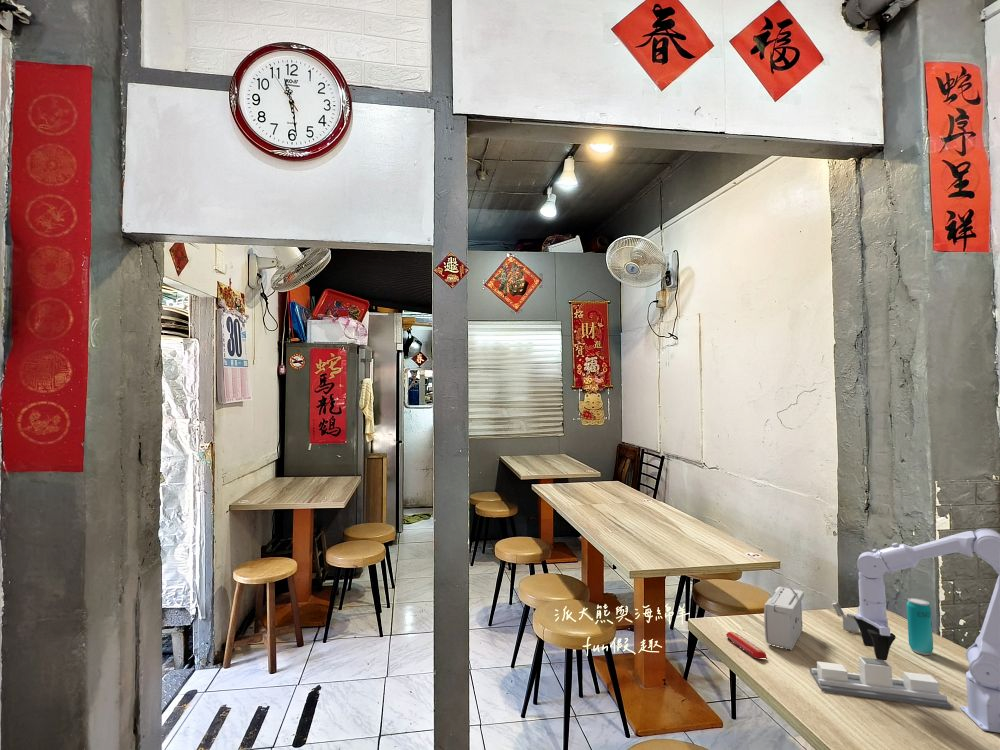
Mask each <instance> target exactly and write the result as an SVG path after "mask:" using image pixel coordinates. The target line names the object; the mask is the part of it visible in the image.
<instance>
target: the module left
mask: <svg viewBox="0 0 1000 750" xmlns="http://www.w3.org/2000/svg"><path fill="white" fill-rule="evenodd" d="M816 669H817V675H818V676H819V678H820V679H825V680H833V681H841V682H848V674H847V672H848V670H847V669H846V668H845V667H844V665H843V664H840V663H833V662H824V661H816Z"/></svg>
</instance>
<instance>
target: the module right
mask: <svg viewBox="0 0 1000 750" xmlns="http://www.w3.org/2000/svg"><path fill="white" fill-rule="evenodd" d="M902 676H903V677H902V679H903V682H904V686H905V688H906V689H907V690H911V691H918V692H926V693H934V694H939V693H940V687H939V686H940V685H939V682H938V681H937V680H936V679H935V678H934V677H933V676H932V675H930V674H925V673H918V672H909V671H902Z"/></svg>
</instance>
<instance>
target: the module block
mask: <svg viewBox="0 0 1000 750" xmlns="http://www.w3.org/2000/svg"><path fill="white" fill-rule="evenodd" d="M858 672H859V673H858V674H860V681H861V682H862V683H863V684H864V685H872V686H879V687H887V688H893V684H892V678H893V669H892V665H890V664H889V663H888V661H887V660H878V659H877V658H874V657H873V658H871V657H864V656H863V657H862V656H858Z"/></svg>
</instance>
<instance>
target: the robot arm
mask: <svg viewBox="0 0 1000 750" xmlns="http://www.w3.org/2000/svg"><path fill="white" fill-rule="evenodd" d="M974 553H976V555H977V556H978V557H979V558H980V559H981V560H983V561H985V562H986V563H987V564H989V565H990V566H991V567H992V569H993V570H994V571H995V573H996V574H998V577H997V578H996V582H995V585H994V588H993V590H992V591H993V592H992V595H991V598H990V601H989V604H988V608H987V610H986V614H985V617H984V620H983V624H982V626H981V629H980V632H979V635H978V636H976V639H975V642H974V643H973V644H972V645H970V646H969V647H968V648H967V649H966V651H965V657H966V660H967V662H968V665H969V666H968V669H969V670H968V671H966V673H965V679H966V680H965V681H966V694H967V695H966V697H967V698H966V699H967V706H965V705H959V709H960V710H961V711H962V712H963V713H965V715H966V716H968V717H969V719H971V721H973V723H975V724H976V725H977V727H979V729H981V730H983V731H985V732H986V731H987V732H990V733H991V732H992V733H1000V533H999V532H997V530H994V529H990V528H979V529H977V530H974V531H973V530H969V531H963V532H958V533H955V534H953V535H948V536H944V537H942V538H939V539H934V540H931V541H928V542H924V543H921V544H918V545H914V546H912V545H908V544H905V543H900V544H899V543H898V542H894V543H892V544H891V546H890V547H886V548H882V549H877V548H873V549H872V552H871V551H864V552H862V553H861V554H859V555H858V558H857V561H856V566H857V567H856V568H857V570H858V575H857V576H858V580H857V582H858V597H859V606H857V609H858V613H855V614H854V619H855V621H856V622H857V624H858V627H859V633H860V635H861V639H862V642H863V645H864V647H870V648H873V651H874V655H875V657H876V658H875V659H878V660H885V661H887V660H888V656H889V653H890V649H891V646H892V644H893V642H894V641H895V640H896V635H895V634H894V632H893V633H892V632H891V628H890V627H889V620H888V618H887V617H888V616H887V600H886V584H885V582H884V573H889V574H891V573H894V572H897V571H902V570H907V569H911V568H916V567H917V566H918V564H919V562H920V561H921V560H925V559H930V558H936V557H941V556H945V555H946V556H947V555H949V554H961V555H965V556H968V557H971V558H974Z"/></svg>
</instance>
